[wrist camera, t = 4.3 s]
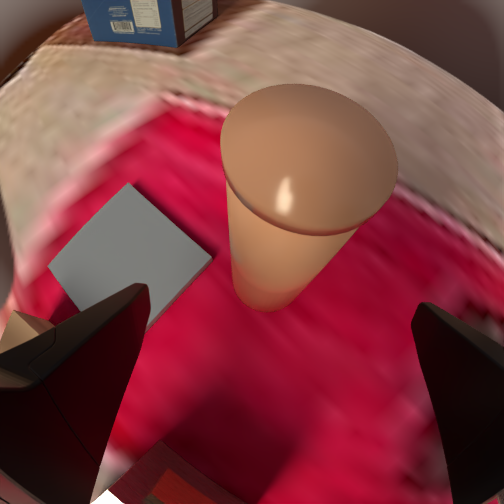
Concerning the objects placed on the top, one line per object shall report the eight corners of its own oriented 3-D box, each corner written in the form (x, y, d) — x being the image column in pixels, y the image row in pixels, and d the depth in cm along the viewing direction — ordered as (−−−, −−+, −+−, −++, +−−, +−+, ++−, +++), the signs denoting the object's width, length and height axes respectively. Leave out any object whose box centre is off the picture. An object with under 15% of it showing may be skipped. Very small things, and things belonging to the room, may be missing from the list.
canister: (271, 328, 19) (340, 267, 6) (215, 281, 20) (181, 144, 7) (316, 274, 20) (419, 148, 8) (262, 231, 21) (292, 66, 8)
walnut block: (68, 404, 16) (33, 410, 12) (28, 368, 17) (-9, 366, 13) (91, 353, 18) (57, 350, 14) (48, 320, 18) (13, 309, 14)
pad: (123, 356, 18) (119, 356, 17) (52, 269, 20) (47, 266, 19) (212, 260, 20) (211, 257, 20) (131, 187, 22) (128, 182, 21)
